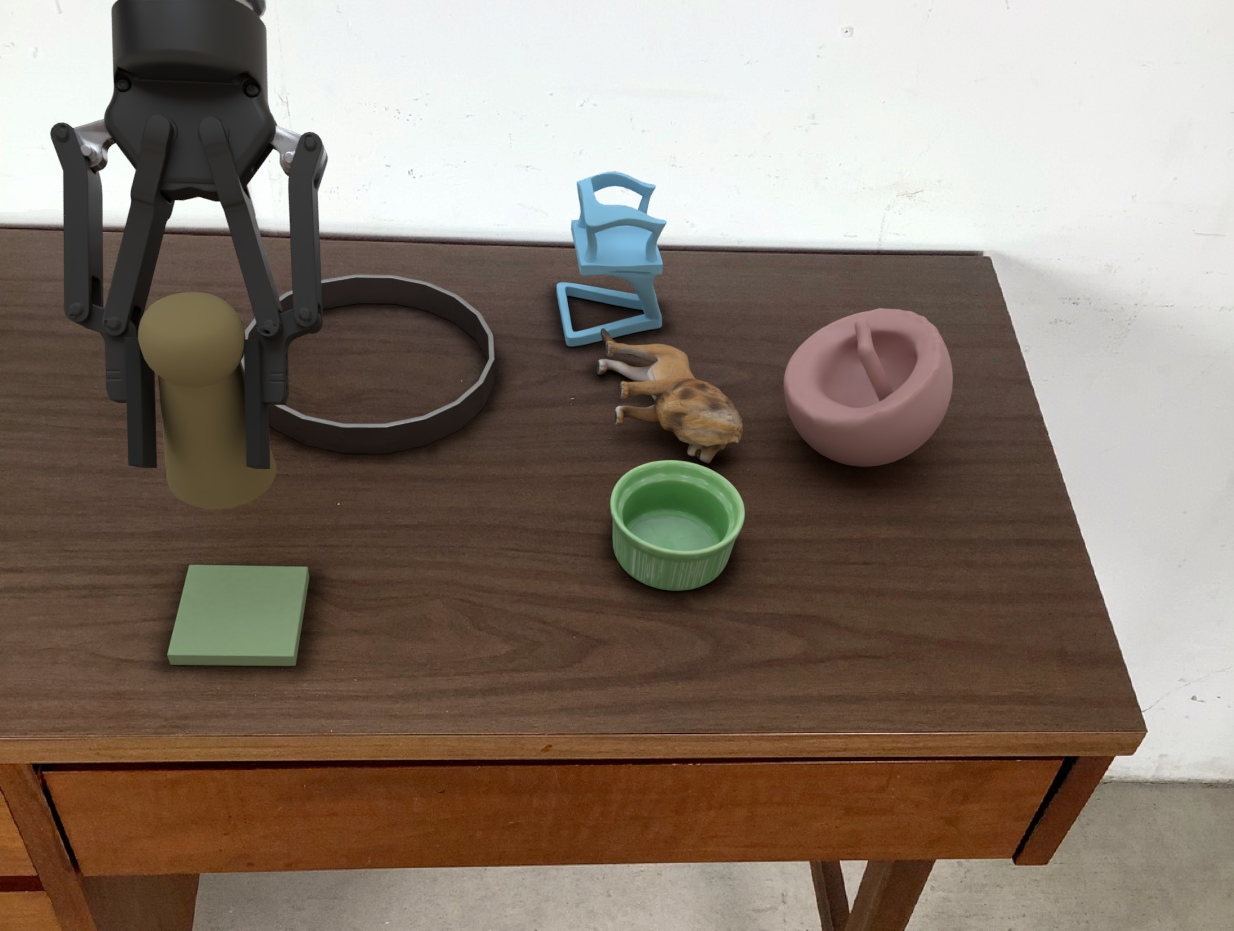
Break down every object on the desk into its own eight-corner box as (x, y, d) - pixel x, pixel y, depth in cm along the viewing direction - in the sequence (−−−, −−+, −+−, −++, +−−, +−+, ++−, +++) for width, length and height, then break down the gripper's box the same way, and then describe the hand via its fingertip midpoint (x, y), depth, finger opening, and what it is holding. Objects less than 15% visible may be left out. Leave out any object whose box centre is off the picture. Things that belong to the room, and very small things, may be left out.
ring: (203, 423, 89) (196, 395, 87) (302, 282, 101) (299, 256, 99) (450, 476, 87) (450, 450, 85) (521, 327, 99) (522, 301, 97)
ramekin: (755, 583, 83) (767, 538, 79) (632, 611, 80) (638, 565, 77) (705, 495, 88) (713, 449, 85) (587, 518, 85) (591, 472, 82)
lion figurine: (622, 474, 88) (741, 472, 90) (631, 415, 84) (755, 414, 86) (590, 356, 98) (698, 356, 100) (597, 298, 94) (709, 299, 96)
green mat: (170, 665, 74) (166, 654, 73) (191, 574, 79) (189, 564, 78) (295, 666, 75) (293, 656, 74) (309, 576, 80) (307, 566, 79)
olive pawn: (294, 485, 69) (268, 324, 61) (191, 523, 67) (149, 360, 58) (250, 424, 72) (219, 262, 64) (150, 458, 70) (104, 294, 61)
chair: (667, 345, 99) (684, 212, 90) (565, 347, 98) (573, 212, 89) (652, 290, 104) (667, 159, 95) (555, 291, 103) (562, 158, 94)
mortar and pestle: (758, 395, 96) (785, 269, 87) (905, 396, 97) (945, 272, 89) (786, 500, 88) (818, 373, 80) (944, 500, 90) (993, 375, 81)
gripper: (-28, -32, 58) (-10, 462, 59) (364, -13, 60) (370, 465, 61) (30, 31, 65) (45, 469, 67) (376, 47, 67) (382, 471, 69)
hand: (200, 466), depth 64 cm, fingers closed on olive pawn, 5 cm apart
